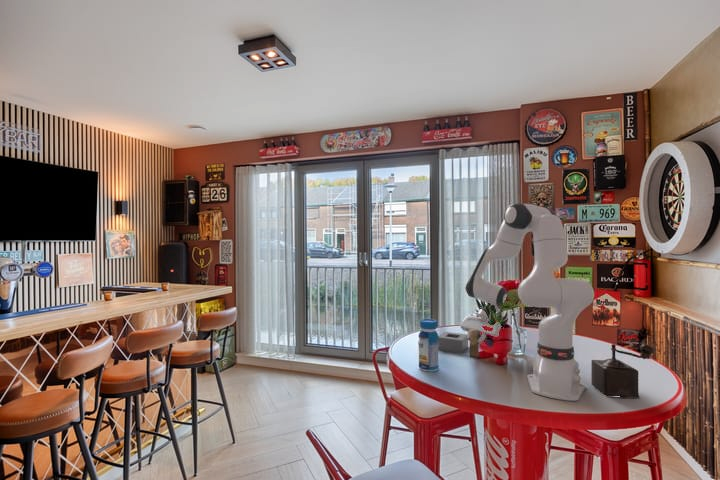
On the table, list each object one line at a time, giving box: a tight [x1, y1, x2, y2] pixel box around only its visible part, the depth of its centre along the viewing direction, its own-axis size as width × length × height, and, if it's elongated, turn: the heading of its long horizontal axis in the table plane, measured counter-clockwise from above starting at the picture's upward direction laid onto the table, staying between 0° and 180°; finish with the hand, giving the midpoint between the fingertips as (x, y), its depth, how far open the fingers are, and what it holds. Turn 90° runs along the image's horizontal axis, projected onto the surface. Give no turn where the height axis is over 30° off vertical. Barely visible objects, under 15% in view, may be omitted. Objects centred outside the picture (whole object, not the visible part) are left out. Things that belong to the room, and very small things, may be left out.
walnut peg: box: [469, 329, 480, 359], centre depth 162 cm, size 4×4×12 cm
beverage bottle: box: [417, 318, 440, 373], centre depth 147 cm, size 8×8×20 cm
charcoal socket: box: [438, 331, 469, 354], centre depth 175 cm, size 12×12×6 cm
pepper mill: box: [590, 343, 655, 398], centre depth 123 cm, size 16×11×18 cm
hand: (473, 341), depth 161 cm, fingers closed on walnut peg, 4 cm apart
